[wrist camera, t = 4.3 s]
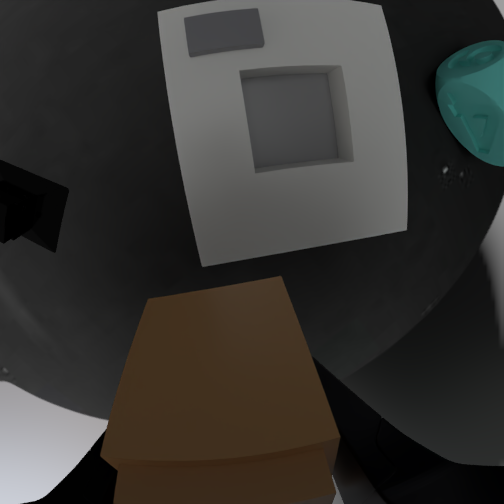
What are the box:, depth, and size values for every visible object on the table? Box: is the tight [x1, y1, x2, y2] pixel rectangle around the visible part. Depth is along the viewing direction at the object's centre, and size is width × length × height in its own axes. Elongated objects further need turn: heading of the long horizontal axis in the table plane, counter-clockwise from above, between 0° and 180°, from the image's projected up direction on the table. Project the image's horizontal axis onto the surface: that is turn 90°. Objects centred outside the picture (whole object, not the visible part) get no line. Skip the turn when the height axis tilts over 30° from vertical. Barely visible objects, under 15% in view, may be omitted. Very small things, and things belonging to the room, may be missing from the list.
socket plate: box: [158, 0, 408, 267], centre depth 15 cm, size 16×14×4 cm
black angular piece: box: [0, 160, 69, 253], centre depth 15 cm, size 12×7×5 cm, turn 64°
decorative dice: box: [435, 40, 504, 166], centre depth 13 cm, size 8×8×8 cm
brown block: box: [100, 276, 340, 504], centre depth 7 cm, size 5×5×7 cm
